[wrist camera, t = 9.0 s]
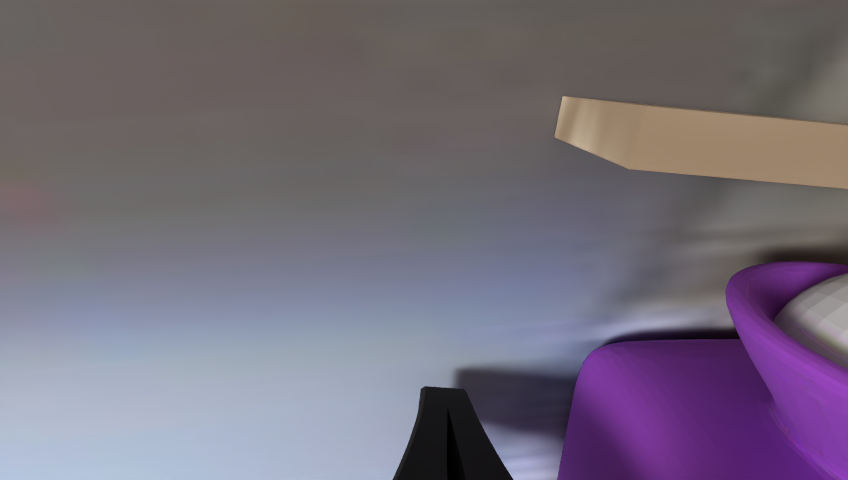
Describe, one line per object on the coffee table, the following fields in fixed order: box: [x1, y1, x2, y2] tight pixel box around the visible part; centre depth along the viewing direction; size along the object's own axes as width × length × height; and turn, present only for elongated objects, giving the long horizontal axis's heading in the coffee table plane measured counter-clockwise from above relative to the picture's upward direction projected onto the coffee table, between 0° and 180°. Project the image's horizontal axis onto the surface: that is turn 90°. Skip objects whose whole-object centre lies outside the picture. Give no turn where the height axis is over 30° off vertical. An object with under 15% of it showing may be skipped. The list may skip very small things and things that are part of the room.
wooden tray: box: [555, 96, 848, 189], centre depth 12 cm, size 19×13×4 cm
